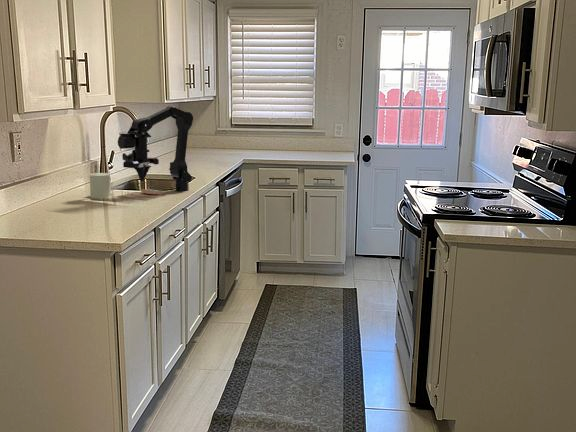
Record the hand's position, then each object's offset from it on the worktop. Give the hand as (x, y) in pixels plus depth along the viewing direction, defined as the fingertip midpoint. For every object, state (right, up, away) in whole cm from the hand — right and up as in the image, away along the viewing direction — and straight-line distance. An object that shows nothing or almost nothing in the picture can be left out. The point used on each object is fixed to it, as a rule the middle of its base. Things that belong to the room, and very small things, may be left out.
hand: (142, 181), depth 269 cm
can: (-18, -9, -2) cm, 20 cm away
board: (-1, -8, +1) cm, 8 cm away
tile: (+2, -5, +5) cm, 7 cm away
